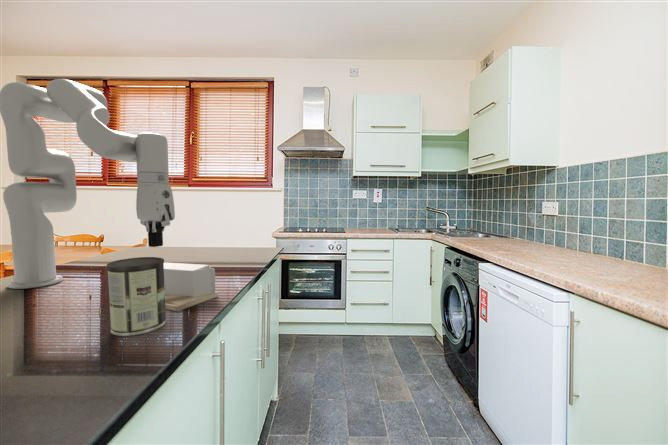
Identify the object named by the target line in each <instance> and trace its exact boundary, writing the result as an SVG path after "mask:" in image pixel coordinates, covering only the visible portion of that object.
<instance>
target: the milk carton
mask: <svg viewBox="0 0 668 445" xmlns="http://www.w3.org/2000/svg"><path fill="white" fill-rule="evenodd" d="M164 291H165V295H176V296H188V297H198V296H203V295H209V294H216V293H215V292H216V270H215V268H213V267H211V266H210V264H199V263H197V264H196V263H184V262H183V263H182V262H181V263H180V262H167V261H166V262H165V261H164Z"/></svg>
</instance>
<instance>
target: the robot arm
mask: <svg viewBox="0 0 668 445" xmlns="http://www.w3.org/2000/svg"><path fill="white" fill-rule="evenodd" d="M108 104H109V103H108V100H107V98H106V97H105V95H104V94H103V93H102V92H101V91H100V90H98V89H96V88H93V87H90V86H88V85H85V84H82V83H79V82H76V81H75V80H74V81H73V80H70V79H66V78H56V79H53V80H51V81H49V82H48V83H47V85H46V87H40V86H38V85H34V84H29V83H25V82H20V81H19V82H9V83H7V84H4V86H3V87H2V88H1V89H0V115H1V119H2V120H3V125H4V127H5V135H6V136H5V137H6V148H7V149H6V151H7V162H8V167H9V170H10V171H11V173H12V174H13V175H16V176H18V177H21V178H22V177H23V178H30V179H31V178H32V179H48V180H49V182H39V181H37V182H35V181H33V182H32V181H21V182H14V183H12V184H11V183H10V184H9V185H8V186H6V188H4V191H3V193H2V197H3V198H2V199H3V201H4V202H3V203H4V204H5V209H6V212H7V215H8V220H9V226H10V227H9V228H10V235H11V247H12V249H11V250H12V264H13V275H14V280H12V281H9V282H8V283H7V288H8V289H14V290H16V289H17V290H18V289H20V290H21V289H22V290H23V289H33V288H40V287H46V286H51V285H55V284H58V283H60V282H62V281H63V280H64V277H63V275H58V274H57V266H56V250H55V249H56V248H55V236H54V226H53V224H52V222H51V221H50V219H49V218H48V217H47V215H46V214H48V213H64V212H69V211H71V210H73V209H74V208H75V206H76V204H77V178H76V177H77V176H76V175H77V174H76V165H75V162H74V160H73V158H72V157H71V156H70V154H68V153H67V152H65V151H61V150H58V149H50V148H48V147H47V144H46V133H45V131H44V129H43V127H42V126H41V124H40V123H39V122H38V121H37V120H36V118H34V117H40V118H45V119H49V120H52V121H56V122H61V123H62V122H63V123H67V124H68V123H71V124H72V123H75V124H76V125H75V126H76V127H75V128H76V132H77V133H76V134H77V136H78V138H79V140H80V141H81V142H82V143H83V144H84V145H85V146H86V147H87V148H88V149H90V151H92V152H93V153H95V154H96V155H98V156H99V157H102V158H103V159H107V160H112V161H113V160H114V161H121V162H128V163H134V164H136V176H137V177H136V178H137V179H136V180H137V188H136V189H137V190H136V200H135V201H136V202H135V204H136V206H135V207H136V209H135V211H136V216H137V219H138V220H139V221H140V222H139V223H140V225H142V226H145V231H146V232H147V241H148V242H147V243H148V247H150V248H156V247H157V248H158V247H163V246H164V237H163V232H164V231H165V228H166V227H169V226H171V221H174V220H175V219H176V218H175V216H176V212H175V201H174V194H173V191H172V187H171V184H170V180H169V176H170V174H169V147H168V146H169V143H168V139H167V137H166V136H165V135H163V134H161V133H156V132H155V133H153V132H140V133H138V134H137V135H135V134H131V133H126V132H123V131H118V130H113V129H110V128H108V127H107V126H108V124H109V123H110V118H111V115H110V112H109V110H108V107H109V106H108Z"/></svg>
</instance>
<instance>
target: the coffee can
mask: <svg viewBox="0 0 668 445" xmlns="http://www.w3.org/2000/svg"><path fill="white" fill-rule="evenodd" d="M164 262H165V259H164V258H163V257H157V256H156V257H155V256H142V257H141V256H139V257H130V258H124V259H123V258H122V259H119V260H118V259H117V260H115V261H111V262H108V263H106V264H105V265H106V269H107V282H108V284H107V285H108V298H109V299H108V302H109V318H110V320H109V321H110V334H112V335H114V336H116V337H118V336H120V337H131V336H132V337H133V336H138V335H139V336H140V335H142V334H147V333H151V332H153V331H156V330H158V329H160V328H162V327H163V326H164V325H166V323H167V319H166V318H167V317H166V316H167V315H166V309H165V291H164Z"/></svg>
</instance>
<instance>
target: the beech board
mask: <svg viewBox="0 0 668 445" xmlns="http://www.w3.org/2000/svg"><path fill="white" fill-rule="evenodd" d="M215 293H216V294H209V295H203V296H198V297H188V296H176V295H165V310H169V311H174V312H180V311H182V310H185V309H188V308H191V307H194V306H195V305H196V306H197V305H199V304H201V303H204V302H206V301H210V300H212V299H214V298H217V297H218V296H219V293H218V291H215Z"/></svg>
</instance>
